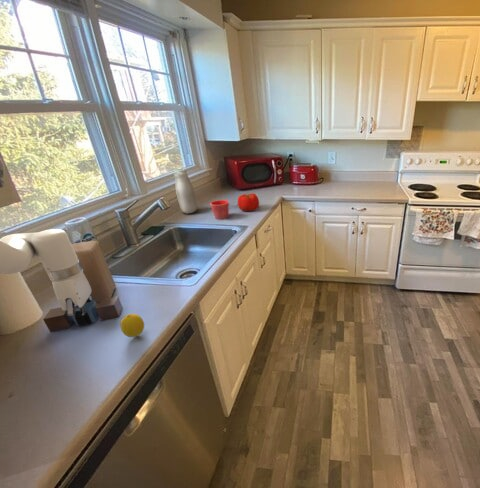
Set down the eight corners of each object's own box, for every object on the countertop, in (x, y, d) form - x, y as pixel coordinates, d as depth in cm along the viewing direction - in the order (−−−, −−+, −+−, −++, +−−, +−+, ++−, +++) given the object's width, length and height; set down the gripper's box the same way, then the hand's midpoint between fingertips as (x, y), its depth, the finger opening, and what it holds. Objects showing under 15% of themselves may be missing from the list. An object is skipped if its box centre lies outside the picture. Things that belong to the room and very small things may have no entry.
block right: (101, 321, 89) (95, 308, 87) (105, 311, 94) (100, 299, 91) (119, 317, 91) (114, 304, 89) (122, 308, 95) (118, 296, 93)
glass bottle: (189, 209, 189) (179, 167, 177) (201, 211, 186) (192, 168, 174) (178, 214, 181) (167, 170, 169) (190, 216, 178) (180, 171, 165)
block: (76, 308, 95) (50, 256, 87) (85, 292, 103) (62, 244, 95) (111, 300, 99) (90, 250, 90) (117, 286, 107) (98, 238, 98)
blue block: (76, 326, 87) (70, 313, 85) (82, 316, 92) (76, 304, 89) (96, 322, 89) (90, 309, 87) (100, 312, 93) (95, 300, 91)
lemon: (133, 329, 86) (125, 308, 82) (151, 329, 86) (143, 308, 82) (121, 342, 81) (112, 321, 77) (140, 343, 81) (131, 321, 77)
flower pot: (225, 213, 182) (223, 198, 178) (234, 217, 175) (231, 202, 171) (210, 217, 176) (207, 202, 171) (218, 221, 169) (215, 206, 164)
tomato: (257, 205, 196) (255, 191, 191) (261, 211, 185) (259, 195, 180) (237, 208, 191) (235, 193, 186) (240, 214, 180) (238, 198, 176)
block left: (50, 332, 85) (42, 319, 83) (57, 321, 89) (50, 309, 87) (70, 327, 87) (63, 314, 85) (76, 317, 91) (70, 305, 89)
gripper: (61, 259, 88) (83, 306, 96) (34, 288, 74) (63, 340, 82) (90, 255, 91) (109, 300, 99) (69, 282, 76) (94, 333, 84)
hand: (88, 318), depth 90 cm, fingers closed on blue block, 5 cm apart
